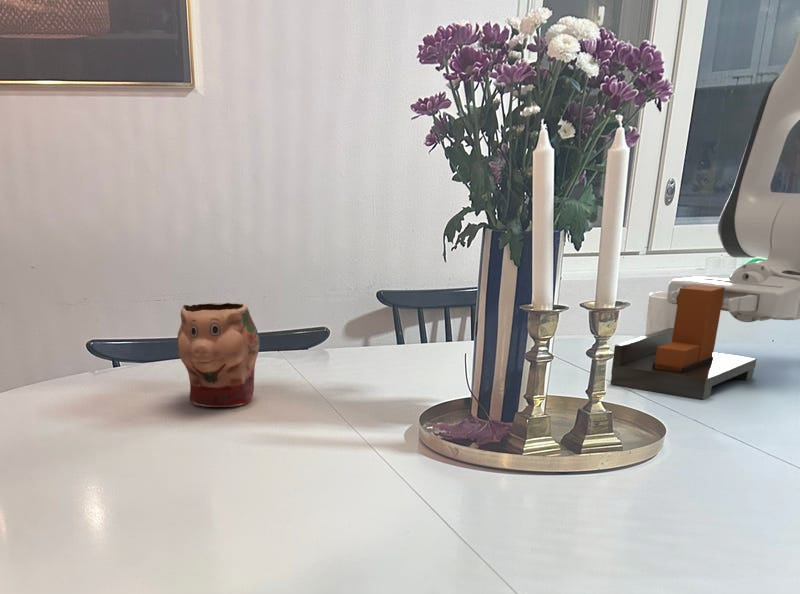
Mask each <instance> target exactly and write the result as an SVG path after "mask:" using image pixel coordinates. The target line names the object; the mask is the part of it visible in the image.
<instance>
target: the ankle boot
mask: <svg viewBox="0 0 800 594" xmlns="http://www.w3.org/2000/svg"><path fill="white" fill-rule="evenodd" d="M724 289H725V287H718V286H707V285H696V284H694V285H690V286H687V287H683V288H680V291H679V297H678V304H677V310H676V317H675V323H674V330H673V336H672V342H671V343H668V344H665V345H662V346H659V347H657V352H656V359H655V363H653V367H652V368H653V369H660V370H667V371H673V372H680V373H684V372H687V371H690V370H692V369H695V368H698V367H700V366H703V365H705V364H708V363H711V362H713V359H714V357H713V353H715V351H714V350H715V345H716V339H717V333H718V327H719V323H720V317H721V312H722V310H721V306H722V300H723V295H724Z"/></svg>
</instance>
